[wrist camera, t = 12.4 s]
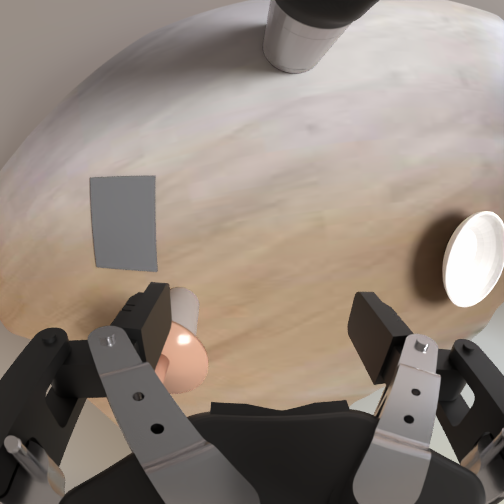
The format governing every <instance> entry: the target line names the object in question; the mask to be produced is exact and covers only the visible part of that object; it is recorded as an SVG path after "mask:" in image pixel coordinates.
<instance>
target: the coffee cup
mask: <svg viewBox="0 0 504 504" xmlns="http://www.w3.org/2000/svg"><path fill="white" fill-rule="evenodd" d="M170 299H171V312H172V321H174V322H176V323H178V324H180V325H182V326H184V327H185V328H187V329H188V330H190V331H191V332H192V333H193V334H194V335H195V336H196V331H197V322H198V313H199V301H198V298H197V297H196V295H195V294H194V293H193V292H192V291H190V290H188V289H186V288H182V287H176V288H173V289H171V290H170Z"/></svg>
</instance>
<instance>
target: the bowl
mask: <svg viewBox="0 0 504 504" xmlns="http://www.w3.org/2000/svg"><path fill="white" fill-rule="evenodd" d="M503 267H504V224H503V222H502V220H501V219H500V218H499V216H498V215H496V214H495V213H493V212H489V211H483V212H477V213H475V214H473V215H470V216H469V217H468V218H466V219H465V220H464V221H463V222H462V223H461V224H460V225H459V226H458V227H457V228H456V230H455V231H454V233H453V234H452V236H451V238H450V240H449V242H448V245H447V248H446V251H445V254H444V259H443V267H442V271H443V283H444V288H445V290H446V293H447V295H448V297H449V298H450V300H451V301H452V302H453V303H454V304H455V305H457V306H460V307H470V306H472V305H475V304H477V303H478V302H480V301H481V300H482V299H483V298H485V297H486V296H487V295H488V294H489V292H490V291H491V290H492V289H493V287H494V286H495V284H496V283H497V281H498V279H499V277H500V275H501V272H502V270H503Z"/></svg>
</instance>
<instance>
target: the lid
mask: <svg viewBox="0 0 504 504" xmlns="http://www.w3.org/2000/svg"><path fill="white" fill-rule="evenodd" d="M208 365H209V360H208V355H207V352H206V350H205V347H204V346H203V344H202V343H201V341H200V340H199V339H198V338H197V337H196V336H195V335H194V334H193V333H192V332H191V331H190V330H188V329H187V328H185V327H184V326H182V325H180V324H178V323H176V322H174V321H172V324H171V329H170V332H169V335H168V337H167V340H166V342H165V345H164V348H163V350H162V353H161V355H160V358H159V361H158V363H157V366H156V369H155V373H156V374H157V376H158V377H159V379H160V380H161V382H162V383H163V385H164V386H165V388H166V389H167V391H168V392H169V394H178V393H184V392H188V391H191V390H193V389H195V388H196V387H198V386H199V385H200V384H201V383H202V382H203V381H204V379H205V378H206V375H207V372H208Z"/></svg>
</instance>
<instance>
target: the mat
mask: <svg viewBox="0 0 504 504" xmlns="http://www.w3.org/2000/svg"><path fill="white" fill-rule="evenodd" d="M90 190H91V213H92V227H93V239H94V249H95V257H96V265H97V267H101V268H113V269H125V270H138V271H152V272H157V271H158V270H157V252H156V223H155V176H117V177H94V178H90Z"/></svg>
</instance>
